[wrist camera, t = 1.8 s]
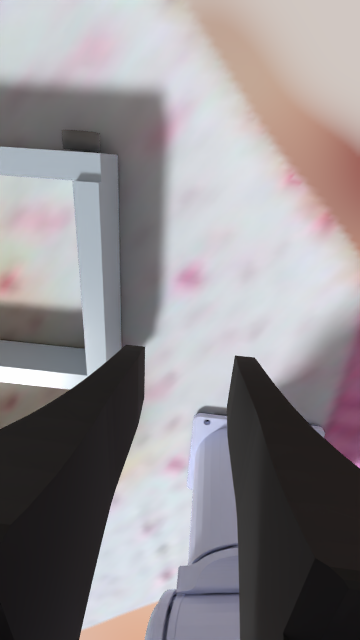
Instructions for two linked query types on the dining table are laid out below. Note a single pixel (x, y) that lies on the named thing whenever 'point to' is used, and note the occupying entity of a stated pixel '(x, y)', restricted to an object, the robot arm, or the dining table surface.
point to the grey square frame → (93, 254)
